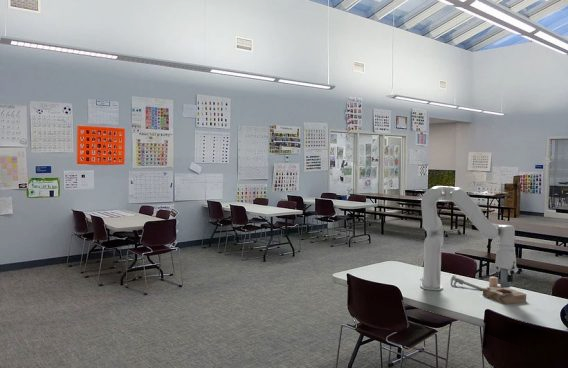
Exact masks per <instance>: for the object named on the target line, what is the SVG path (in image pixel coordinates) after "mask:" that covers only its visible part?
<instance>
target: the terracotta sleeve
mask: <svg viewBox="0 0 568 368" xmlns="http://www.w3.org/2000/svg"><path fill="white" fill-rule="evenodd" d="M498 283H499V277H497V276H489V283H488V285H489V286H488V287H497V286H499V285H498Z"/></svg>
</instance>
